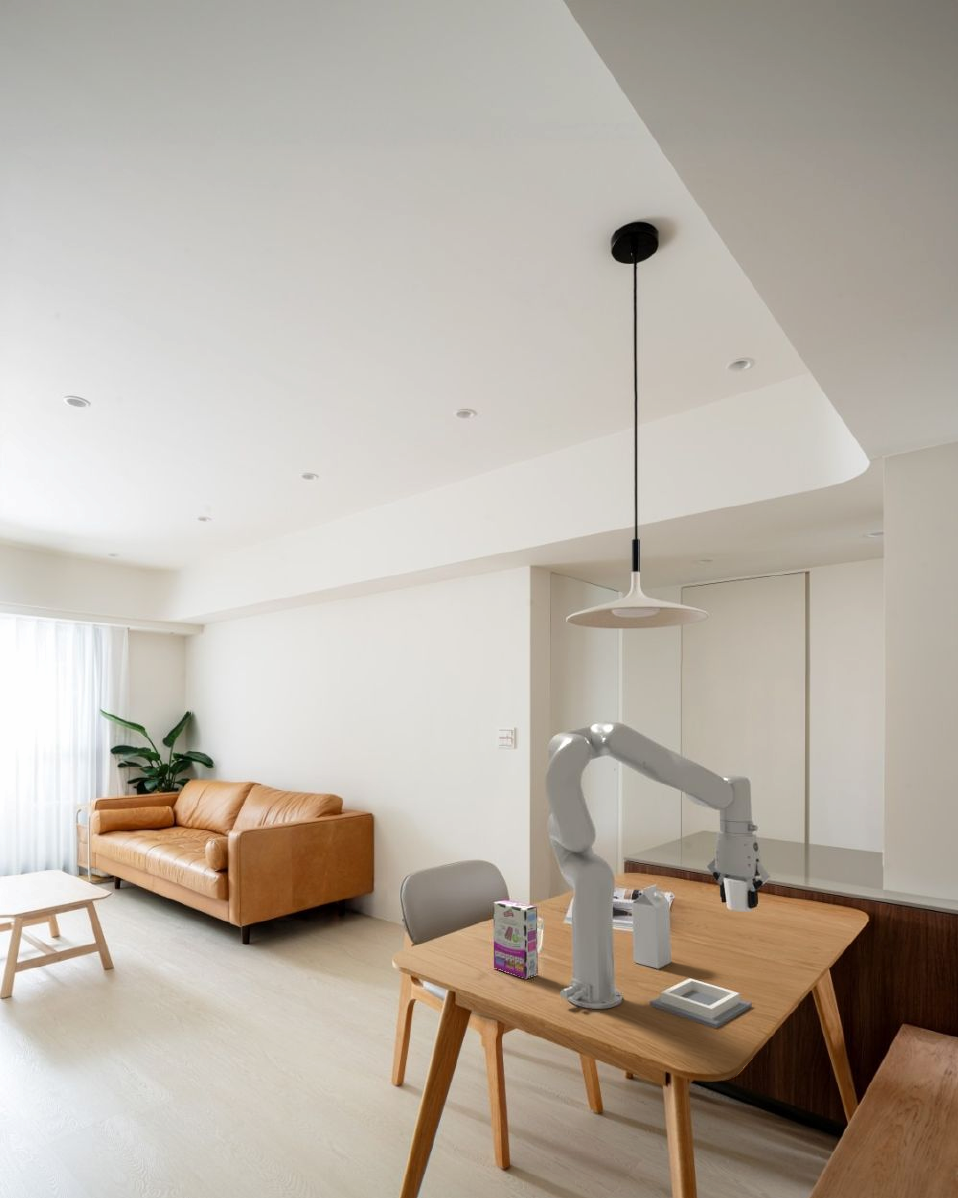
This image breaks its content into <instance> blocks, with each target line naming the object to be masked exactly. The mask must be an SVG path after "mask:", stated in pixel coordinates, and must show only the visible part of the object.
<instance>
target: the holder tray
mask: <svg viewBox="0 0 958 1198" xmlns="http://www.w3.org/2000/svg"><path fill="white" fill-rule="evenodd" d="M649 1006H650V1007H653V1008H656V1009H658V1010H661V1011H665V1012H666V1013H669V1014H674V1015H675V1016H679V1017H681V1018H685V1019H687V1020H690V1021H693V1022H696V1023H698V1024H702V1025H705V1026H707V1027H711V1028H712V1029H713V1028H714V1029H717V1028H719V1027H721V1026H722V1025H724V1024H726V1023H728V1022H729V1021H731V1020H732V1019H734V1018H736V1017H737V1016H739V1015H741V1014H742V1013H744V1012H746V1011H747V1010H749V1009H750V1007H751V1008H752V1007H753V1003H752V1002H750V1001H747V1000H744V999H741V993H740V992H737V991H734V990H730V989H727V988H724V987H720V986H717V985H713V984H710V983H707V982H703V981H700V980H696V979H693V978H687V979H685V980H684V981H681V982H679V983H677V984H675V985H673V986H671V987H669V988H667V989H665V990H663V991H661V992H660V996H659V997H655V998H654V999H653V1000H651V1001H649Z"/></svg>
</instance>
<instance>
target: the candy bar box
mask: <svg viewBox="0 0 958 1198" xmlns="http://www.w3.org/2000/svg"><path fill="white" fill-rule="evenodd" d="M538 957H539V956H538V906H536V905H533V904H532V905H531V904H527V903H523V902H519V901H513V900H509V899H502V900H498V901H494V902H493V969H494V968H497V969H501V970H503V971H506V972H509V973H512V974H515V975H517V976H520V977H523V978H529V977H531V976H534V975H536V974H539V967H538V964H539V963H538V961H539V960H538V959H539V958H538ZM517 976H516V977H517ZM536 976H537V975H536ZM520 977H519V978H520ZM534 977H535V976H534ZM523 978H522V979H523ZM531 978H532V977H531ZM529 979H530V978H529Z"/></svg>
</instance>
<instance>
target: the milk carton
mask: <svg viewBox="0 0 958 1198" xmlns="http://www.w3.org/2000/svg"><path fill="white" fill-rule="evenodd" d="M631 907H632V908H631V909H632V913H631V914H632V938H633V939H632V940H633V962H634V963H636V964H640V965H643V966H645V967H650V968H653V969H658V970H659V969H661V968H663V967H665V966H667V965H668V964H670V963H672V946H671V945H672V944H671V920H670V919H671V916H670V902H669V900H668V899H667V898H666V897H665V895H664V894H663V893H662V892H661V891H660V890H659V888H658V884H654V885H651V886H648V887H645V888H643V889H642V894H641V895H640V896H638V897H637V898H636V899H635V900H634V901H633V902H631Z"/></svg>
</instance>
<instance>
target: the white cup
mask: <svg viewBox="0 0 958 1198" xmlns="http://www.w3.org/2000/svg"><path fill="white" fill-rule="evenodd" d="M724 886H725V894H726V902H725V903H726V907H727V910H731V911H733V912H740V913H741V912H742V913H745V912H751V911H752V910H753V908H752V909H751V908H749V907H748V891H749V890H750V888H749V886H748V882H747V881H746V878H742V877H736V876H731V875H730V876H726V877H724Z"/></svg>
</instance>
